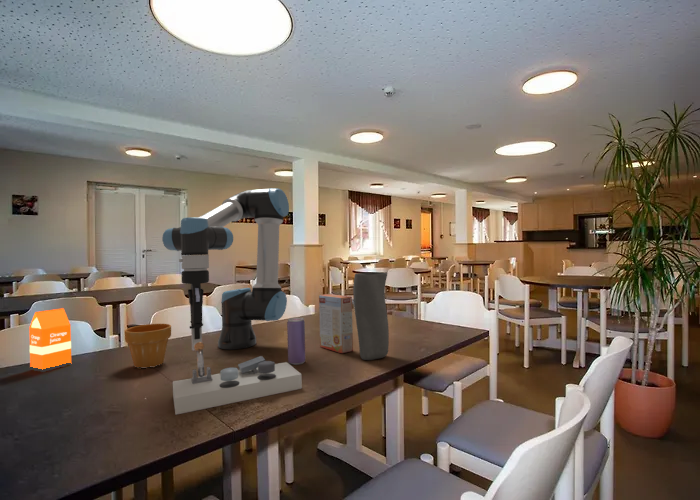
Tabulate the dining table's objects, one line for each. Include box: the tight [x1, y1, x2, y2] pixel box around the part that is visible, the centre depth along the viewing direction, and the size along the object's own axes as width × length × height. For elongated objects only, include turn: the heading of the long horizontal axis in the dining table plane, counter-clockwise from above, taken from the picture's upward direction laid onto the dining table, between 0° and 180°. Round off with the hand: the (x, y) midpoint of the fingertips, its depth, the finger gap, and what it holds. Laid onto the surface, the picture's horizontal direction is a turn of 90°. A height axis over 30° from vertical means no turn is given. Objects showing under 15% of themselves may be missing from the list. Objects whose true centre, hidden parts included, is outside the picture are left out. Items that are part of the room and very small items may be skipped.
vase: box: [352, 271, 390, 361], centre depth 131 cm, size 12×12×30 cm
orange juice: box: [28, 307, 72, 370], centre depth 128 cm, size 8×9×20 cm
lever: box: [194, 341, 206, 377], centre depth 103 cm, size 3×3×10 cm
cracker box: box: [318, 293, 354, 354], centre depth 143 cm, size 14×6×21 cm, turn 40°
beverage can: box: [286, 317, 307, 366], centre depth 127 cm, size 6×6×15 cm
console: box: [172, 361, 303, 416], centre depth 102 cm, size 13×32×7 cm, turn 118°
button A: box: [258, 360, 276, 373], centre depth 102 cm, size 4×4×2 cm
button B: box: [219, 367, 239, 381], centre depth 97 cm, size 4×4×2 cm
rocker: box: [237, 355, 267, 373], centre depth 106 cm, size 4×7×1 cm, turn 118°
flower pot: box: [124, 323, 172, 367], centre depth 128 cm, size 14×14×13 cm
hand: (196, 349), depth 109 cm, fingers closed
